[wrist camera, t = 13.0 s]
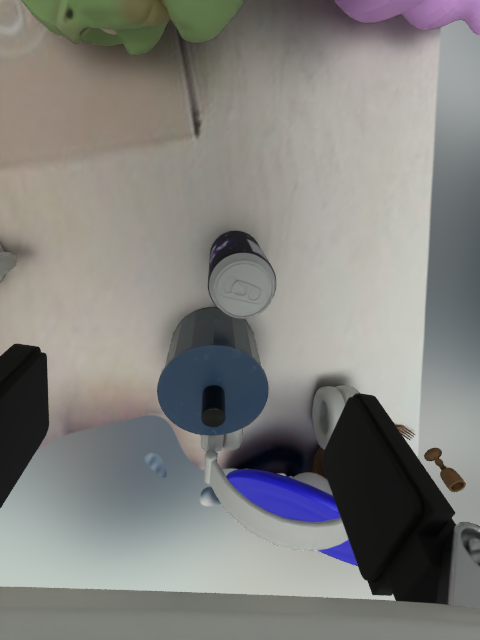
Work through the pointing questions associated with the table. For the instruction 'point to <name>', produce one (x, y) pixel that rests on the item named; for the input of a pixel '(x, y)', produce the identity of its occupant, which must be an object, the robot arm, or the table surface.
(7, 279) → the table surface
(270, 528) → the headphones
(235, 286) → the beverage can
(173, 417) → the pot lid
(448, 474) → the place setting
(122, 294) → the table surface
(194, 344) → the pot
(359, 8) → the teapot
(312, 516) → the toy spaceship
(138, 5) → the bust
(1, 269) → the mug
